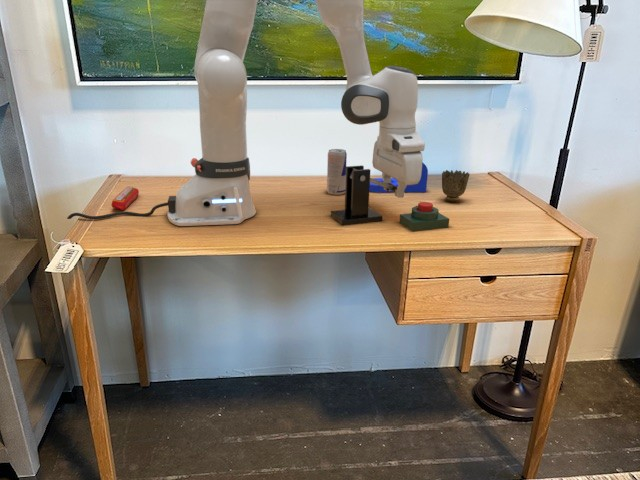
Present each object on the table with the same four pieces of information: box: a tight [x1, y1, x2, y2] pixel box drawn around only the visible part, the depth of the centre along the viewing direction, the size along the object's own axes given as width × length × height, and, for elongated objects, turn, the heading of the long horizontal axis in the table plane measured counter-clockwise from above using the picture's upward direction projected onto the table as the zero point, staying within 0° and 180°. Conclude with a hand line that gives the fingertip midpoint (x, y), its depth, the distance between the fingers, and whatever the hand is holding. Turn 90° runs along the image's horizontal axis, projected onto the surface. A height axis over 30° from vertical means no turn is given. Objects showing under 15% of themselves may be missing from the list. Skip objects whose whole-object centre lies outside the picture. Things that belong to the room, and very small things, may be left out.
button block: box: [398, 205, 450, 232], centre depth 144 cm, size 10×7×4 cm
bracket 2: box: [369, 161, 429, 194], centre depth 173 cm, size 18×8×9 cm, turn 94°
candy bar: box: [111, 186, 140, 211], centre depth 158 cm, size 16×4×3 cm, turn 0°
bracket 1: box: [330, 164, 383, 226], centre depth 146 cm, size 11×8×13 cm
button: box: [417, 201, 434, 212], centre depth 143 cm, size 4×4×2 cm
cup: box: [441, 169, 470, 203], centre depth 162 cm, size 8×7×8 cm
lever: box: [350, 168, 397, 194], centre depth 147 cm, size 13×5×2 cm, turn 109°
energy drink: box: [326, 148, 348, 196], centre depth 168 cm, size 5×5×12 cm
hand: (393, 193), depth 150 cm, fingers closed on lever, 5 cm apart
